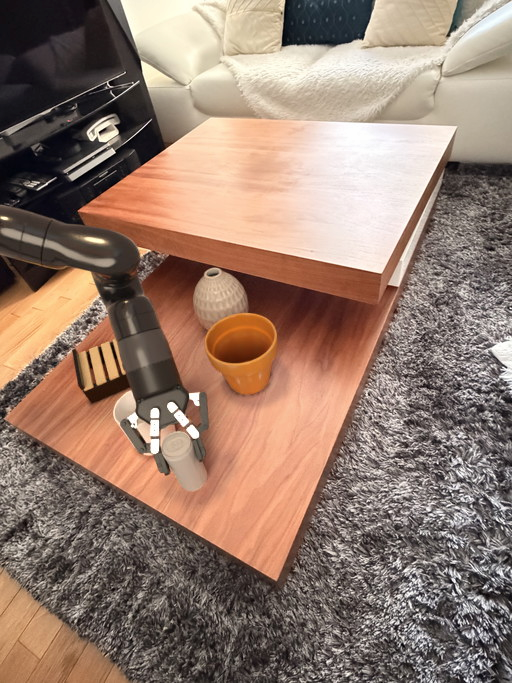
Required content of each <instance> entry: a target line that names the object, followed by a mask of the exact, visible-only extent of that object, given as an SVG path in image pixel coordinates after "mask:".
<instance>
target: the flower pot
mask: <svg viewBox="0 0 512 683" xmlns="http://www.w3.org/2000/svg"><path fill="white" fill-rule="evenodd" d="M278 341H279V340H278V332H277V328H276V327H275V325H274V323H273V322H272V321H271V320H270V319H268V318H267V317H265V316H263V315H261V314H258V313H252V312H248V313H239V314H234V315H230V316H228V317H225V318H223V319H221V320H220V321H218V322H217V323H215V324H214V325H213V326H212V327H211V328H210V329H209V331H208V330H207V332H206V334H205V337H204V342H203V343H204V344H203V346H204V350H205V354H206V356H207V358H208V361H209V362H210V363H209V364H211V366H212V368H214V370H216V371H217V372H219V373H220V374H221V375H222V377H224V380H225V381H226V382H227V383H228V385H229V386H230V388H231V389H232V390H233V391H234V392H236V393H238V394H240V395H245V396H247V395H248V396H249V395H254V394H258V393H259V392H261V391H263V390H264V389H265V388H266V387H267V386H268V384H269V381H270V376H271V371H272V365H273V362H274V360H275V358H276V357H277V355H278V354H277V353H278V347H279V345H278V343H279V342H278Z"/></svg>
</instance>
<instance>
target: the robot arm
mask: <svg viewBox="0 0 512 683" xmlns="http://www.w3.org/2000/svg"><path fill="white" fill-rule="evenodd" d="M0 255H1V256H4V257H7V258H11V259H14V260H18V261H22V262H25V263H29V264H33V265H38V266H40V267H44V268H48V269H53V270H63V269H66V268H74V269H77V270H81V271H87V272H90V274H91V277H92V280H93V282H94V285H95V288H96V290H97V292H98V295H99V296H100V299H101V301H102V303H103V305H104V307H105V309H106V312H107V315H108V321H109V323H110V326H111V330H112V332H113V336H114V339H116V341H117V345H118V349H119V355H120V358H121V362H122V367H123V370H124V371H125V373H126V376H127V379H128V382H129V385H130V388H129V389H130V390H131V391H132V394H133V396H134V399H135V402H136V409H135V413H133V414H132V415H130V416H129V417H126V418H124V419H123V420H122V421H121V422H120V426H121V427H122V429H123V430H124V432H125V433H126V435H127V436H128V438H129V439H130V441H131V442H132V444H133V445H134V447H135V448H136V449H135V448H134V447H133V448H134V449H135V451H137V453H138V454H139V455H143V454H144V453H151V454H153V455H152V457H153V458H154V461H155V464H156V467H157V470H158V471H159V473H160V474H164V476H165V477H167V476H169V475H171V472H172V470H171V468H170V466H169V465H168V463H167V461H166V460H165V458H164V456H163V454H162V450H161V446H160V444H161V429H163V428H166V427H167V426H168V425H173V424H174V425H178V424H180V425H181V426H182V427H183V429H185V431H186V432H187V434H188V435H189V436H190V437H191V439H192V442H193V445H194V448H195V451H196V454H197V457H198V460H199V462H204V461H205V457H207V450H206V447H205V444H204V441H203V438H202V434H204V433H205V431H208V430H209V429H210V420H209V409H208V395H207V392H206V391H205V390H204V389H203V390H200V391H196V392H189V391H188V390H187V389H186V388H185V386H184V384H183V381H182V379H181V378H182V377H181V374H180V372H179V369H178V367H177V364H176V361H175V358H174V355H173V352H172V349H171V346H170V343H169V341H168V339H167V336H166V335H165V332H164V331H163V328H162V325H161V322H160V319H159V316H158V313H157V311H156V308H155V306H154V303H153V301H152V300H151V299H150V297H148V296H147V295H146V294H145V291H144V288H143V284H142V282H141V280H140V276H139V272H138V270H139V267H140V264H141V252H140V249H139V247H138V246H137V244H136V242H134V241H133V240H132V239H131V238H130V237H128V236H127V235H126V234H123V233H121V232H118V231H116V230H113V229H109V228H104V227H98V226H91V225H85V224H84V225H83V224H76V223H66V222H63V221H61V220H57V219H55V218H53V217H48V216H47V215H43V214H39V213H37V212H33V211H31V210H26V209H23V208H19V207H16V206H15V207H14V206H11V205H5V204H0ZM190 400H191V401H193V403H194V405H195V406H197V407H199V416H200V418H199V419H200V423H199V424H197V425H196V424H195V423H194V421H193V420H192V419H191V417H190V416H189V415H188V414H187V410H188V409H187V408H188V405H189V403H190ZM138 418H140V419H141V420H143V421H144V422H146V423H147V424H149V425H150V426H151V443H146V441H145V440H144V438H143V437H142V435H141V434H140V432H139V431H138V429H137V426H138V421H137V419H138ZM122 429H121V430H122ZM124 432H123V433H124ZM126 435H125V436H126ZM128 438H127V439H128ZM129 439H128V440H129ZM130 441H129V442H130ZM131 442H130V443H131ZM132 444H131V445H132ZM133 445H132V446H133Z"/></svg>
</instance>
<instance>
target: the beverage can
mask: <svg viewBox="0 0 512 683" xmlns="http://www.w3.org/2000/svg"><path fill="white" fill-rule="evenodd" d="M161 450H162V454H163V456H164V458H165V460H166V461H167V463H168V465H169V467H170V471H171V472H172V473H173V475H174V476H175V478H176V480H177V481H178V483H179V485H180V486H181V488H182V489H183V490H184V491H186V492H190V493H192V492H197V491H199V490H201V489H202V487H204V485H205V484H206V483H207V480H208V471H207V469H206V467H205V465H204V463H203V462H204V461H203V462H199V460H198V457H197V454H196V451H195V448H194V445H193V442H192V436H191V435H190V434H189V433H188V432H185V431H182V430H177V431H175V432H172V433H170V434H169V435H167V436H166V437H165V439H164V440H163V442H162V445H161Z"/></svg>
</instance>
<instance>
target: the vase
mask: <svg viewBox="0 0 512 683" xmlns="http://www.w3.org/2000/svg"><path fill="white" fill-rule="evenodd" d="M192 307H193V312H194V314H195V317H196V319H197V321H198V322H199V324H200V325H201V326H202V327H203V328H204V329H205V330H207V332H208V331H209V329H210V328H211V327H212V326H213V325H214V324H215V323H217V322H218V321H220V320H221V319H223V318H225V317H228V316H230V315H234V314H239V313H249V299H248V295H247V292H246V290H245V288H244V286H243V284H242V283H241V282H240V280H238V279H237V278H236V277H235V276H233V275H232V274H231V273H228V272H226V271H224V270H222V269H221V268H218V267H211V268H208V269H207V270H205V271H204V273H203V276H202V277H201V278H200V279H199V281H198V282H197V284H196V285H195V287H194V291H193V296H192Z"/></svg>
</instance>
